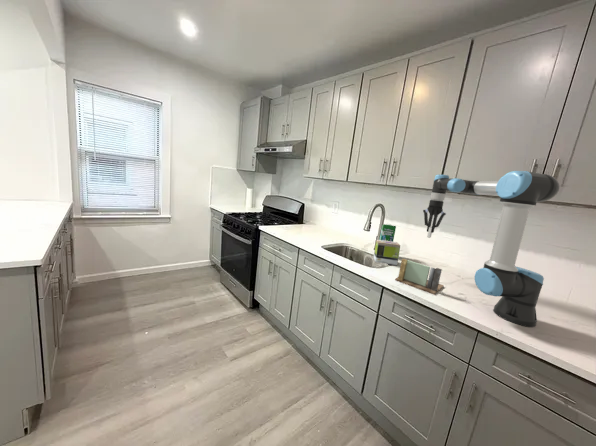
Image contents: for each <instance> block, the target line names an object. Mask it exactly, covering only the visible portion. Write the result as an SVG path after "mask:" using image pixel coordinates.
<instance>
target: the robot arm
mask: <svg viewBox="0 0 596 446" xmlns="http://www.w3.org/2000/svg"><path fill="white" fill-rule="evenodd" d="M559 191H560V182H559V180H557V179H556V178H555V177H554V176H552V175H550V174H545V173H539V172H532V171H528V170H512V171H509V172H507V173H505V174H504V175H503V176H501V177H500V178H499V179H498V180H469V179H463V178H458V177H454V178H450V176H449V175H448V174H436V175H435V176H434V180H433V184H432V189H431V194H430V200H429V202H428V207H427V208H426V209H423V210H422V211H423V217H424V226H427V227H426V232H427V235H426V238H429V239H430V238H432V234H433V233H435V229H436V228H439V226H440V224H441V223H442V220H443V219H444V218H445V216H446V215H447V213H446V212H445V211H444V210H443V206H444V201H445V197H446V193H447V192H448V193H449V192H452V193H459V194H468V195H472V196H474V195H475V196H479V195H483V196H485V195H486V196H498V197H499V198H500V199H499V204H500V206H502V209H501V212H500V217H499V222H498V225H497V229H496V233H495V237H494V240H493V241H494V242H493V245H492V249H491V253H490V257H489V260H486V261H484V265H483V267H481V268H478V269H477V270H476V271H475V273H474V283H475V285H476V287H477V289H478V290H479V292H481V293H483V294H484V295H487V296H493V297H501V298H499V299H498V301H497V302H496V304H494V306H493V309H492V310H493V313H494V314H496V316H498V317H500V318H502V319H504V320H506V321H508V322H511V323H513V324H516V325H519V326H522V327H528V328H529V327H531V328H534V327H536V326H537V323H538V317H537V309H536V306H537V304H538V300H539V298H540V294H541V292H542V291H541V290H542V287H543V285H544V281H545V280H544V279H545V278H544V276H543V275H542V274H541V273H537V272H536V271H532V270H530V269H526V268H523V267H520V266H516V261H517V257H518V254H519V250H520V247H521V243H522V239H523V236H524V231H525V228H526V225H527V221H528V217H529V213H530V210H531V209H533V208H535V207H536V206H537V203H542V202H546V201H549V200H552V199H553V198H554V197H555V196H556V195H557V194H558V193H559ZM428 213H429V215H428ZM439 215H440V216H439ZM428 216H429V218H428ZM438 216H439V218H438ZM437 219H438V220H437Z"/></svg>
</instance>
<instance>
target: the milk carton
mask: <svg viewBox="0 0 596 446" xmlns="http://www.w3.org/2000/svg"><path fill="white" fill-rule="evenodd" d="M396 229H397V226H396V225H392V224H390V223H386V224H385V223H384V224H382V225H381V230H380V234H379V235H380V236H379V239H378V240H384V241H391V242H394V239H395V233H396Z"/></svg>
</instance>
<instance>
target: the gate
mask: <svg viewBox="0 0 596 446" xmlns="http://www.w3.org/2000/svg"><path fill="white" fill-rule="evenodd" d="M407 260H408V261H407V266H406V271H405V276H404V279H406V280H409V281H411V282H414V283H417V284H420V285H422V286H426V283H427V280H428V283H427V288H431V287H432V282H433V278H434V273H435V269H436V268H435V267H431V266H429V265H425V264H421V263H419V262H415V261H412V260H409V259H407Z"/></svg>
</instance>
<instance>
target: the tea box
mask: <svg viewBox="0 0 596 446" xmlns="http://www.w3.org/2000/svg"><path fill="white" fill-rule="evenodd" d="M374 246H375V247H374V253H373V260H374V262H375V263H380V264H387V265H393V266H398V262H399V256H400V249H401V245H400V243H399V242H397V241H393V242H391V241H384V240H379V239H376V241H375V245H374Z"/></svg>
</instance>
